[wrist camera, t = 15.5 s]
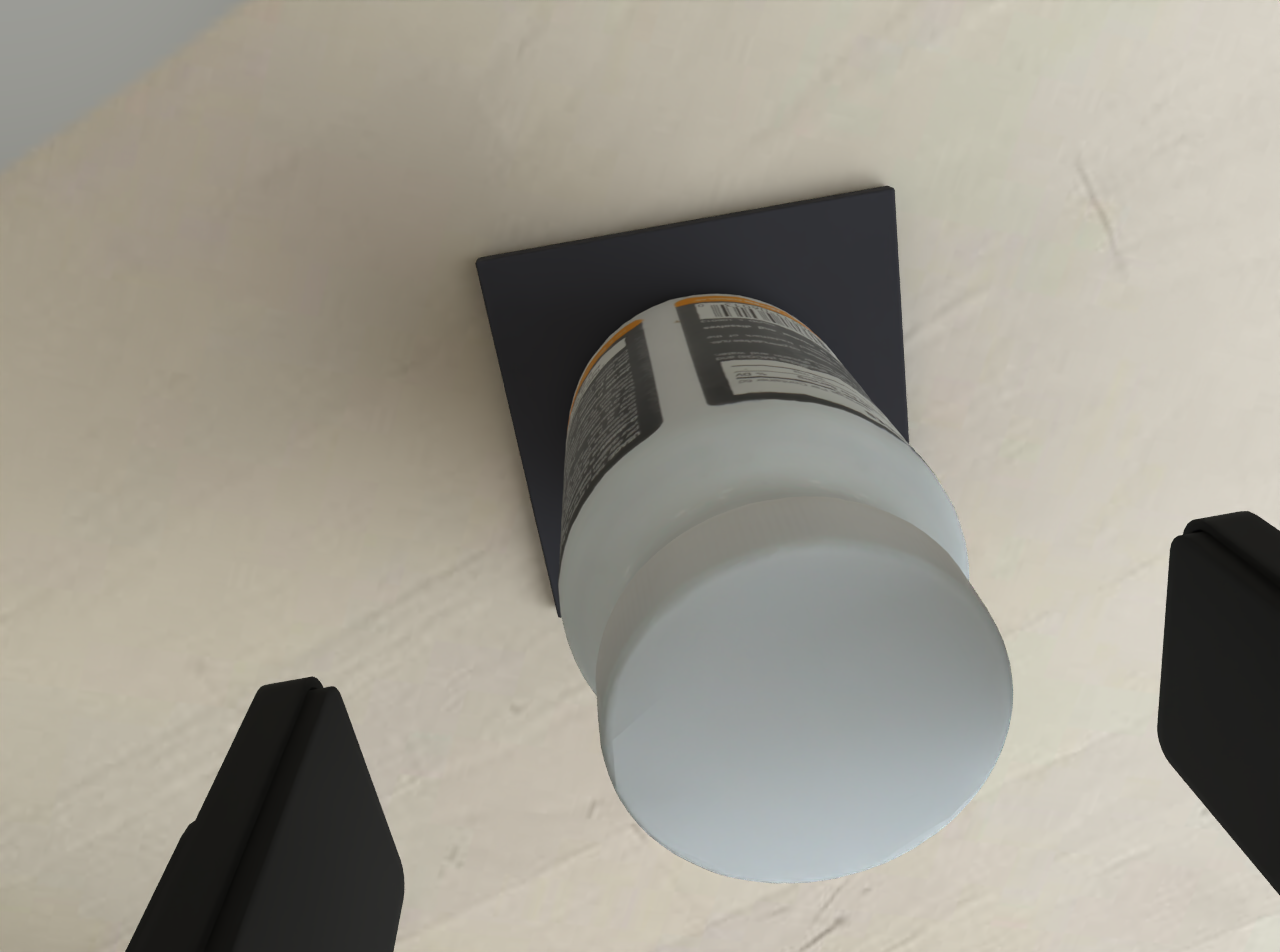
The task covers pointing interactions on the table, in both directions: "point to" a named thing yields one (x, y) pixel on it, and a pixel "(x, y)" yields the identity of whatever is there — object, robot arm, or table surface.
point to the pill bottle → (769, 601)
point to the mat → (679, 267)
